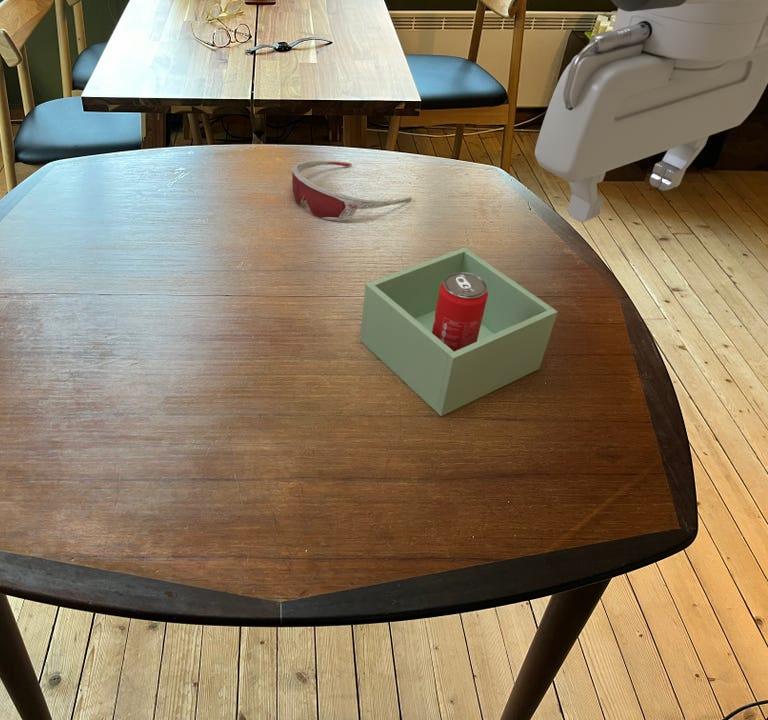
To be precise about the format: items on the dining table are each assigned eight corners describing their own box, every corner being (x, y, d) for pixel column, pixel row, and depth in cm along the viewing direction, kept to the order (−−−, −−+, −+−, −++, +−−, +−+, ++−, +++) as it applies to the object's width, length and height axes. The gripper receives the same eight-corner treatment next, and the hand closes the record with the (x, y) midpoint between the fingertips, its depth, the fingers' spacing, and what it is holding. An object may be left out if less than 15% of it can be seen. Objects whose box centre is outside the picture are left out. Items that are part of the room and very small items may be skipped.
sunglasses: (268, 189, 121) (272, 160, 118) (343, 178, 131) (349, 150, 128) (335, 234, 111) (342, 203, 108) (412, 218, 121) (420, 189, 118)
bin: (539, 369, 89) (558, 311, 83) (441, 416, 83) (453, 358, 77) (453, 302, 99) (464, 246, 93) (359, 340, 93) (365, 283, 87)
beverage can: (436, 384, 86) (453, 301, 78) (419, 356, 89) (433, 274, 81) (477, 377, 87) (497, 294, 79) (458, 349, 90) (476, 268, 82)
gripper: (623, 54, 42) (560, 258, 51) (823, 2, 50) (738, 186, 59) (541, 23, 46) (496, 217, 55) (738, -20, 54) (671, 155, 63)
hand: (623, 201), depth 57 cm, fingers open, 8 cm apart
